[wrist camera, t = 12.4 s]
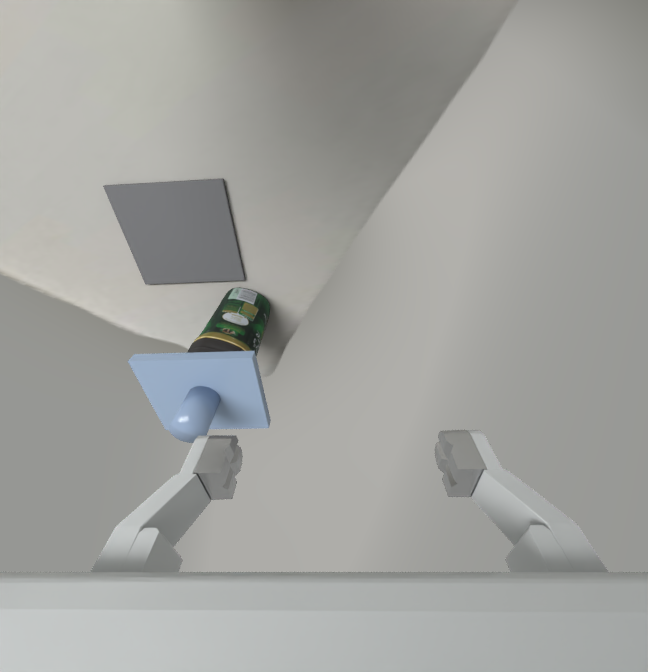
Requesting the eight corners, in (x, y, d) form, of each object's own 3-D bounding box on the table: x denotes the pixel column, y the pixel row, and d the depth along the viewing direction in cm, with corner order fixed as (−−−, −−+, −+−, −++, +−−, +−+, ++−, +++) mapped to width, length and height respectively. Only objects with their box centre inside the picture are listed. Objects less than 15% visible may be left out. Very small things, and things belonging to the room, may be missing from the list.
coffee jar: (262, 340, 52) (233, 423, 36) (218, 326, 50) (169, 407, 35) (277, 296, 47) (251, 370, 31) (229, 279, 45) (177, 348, 30)
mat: (105, 185, 38) (103, 185, 38) (223, 178, 37) (222, 178, 37) (147, 283, 46) (145, 284, 45) (245, 278, 45) (244, 280, 45)
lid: (134, 354, 30) (97, 393, 26) (254, 350, 30) (240, 390, 25) (170, 422, 37) (146, 464, 32) (270, 420, 36) (261, 462, 31)
